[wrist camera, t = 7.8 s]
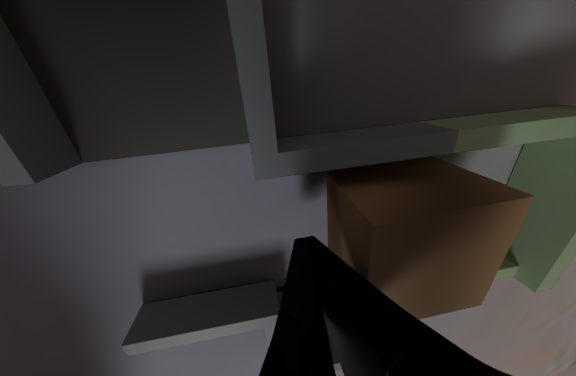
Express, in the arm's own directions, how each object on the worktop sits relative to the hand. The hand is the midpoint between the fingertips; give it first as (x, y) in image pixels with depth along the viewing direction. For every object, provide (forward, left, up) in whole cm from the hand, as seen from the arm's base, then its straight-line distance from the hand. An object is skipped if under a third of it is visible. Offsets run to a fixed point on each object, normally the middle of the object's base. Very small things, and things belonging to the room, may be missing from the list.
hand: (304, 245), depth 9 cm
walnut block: (+4, 0, -2) cm, 4 cm away
